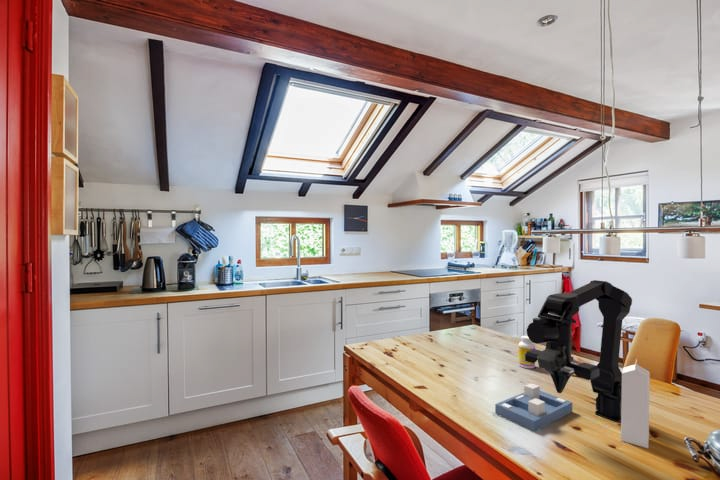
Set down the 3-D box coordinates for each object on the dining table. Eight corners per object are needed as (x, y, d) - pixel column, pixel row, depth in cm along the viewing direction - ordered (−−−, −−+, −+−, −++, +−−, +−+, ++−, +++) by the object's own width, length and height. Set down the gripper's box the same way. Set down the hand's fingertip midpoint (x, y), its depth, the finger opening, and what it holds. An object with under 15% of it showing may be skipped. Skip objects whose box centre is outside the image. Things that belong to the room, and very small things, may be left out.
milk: (648, 439, 102) (650, 361, 102) (648, 449, 97) (650, 366, 97) (622, 431, 106) (623, 356, 106) (620, 440, 101) (622, 361, 101)
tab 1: (539, 400, 123) (539, 386, 123) (532, 403, 121) (533, 388, 121) (531, 397, 125) (531, 383, 125) (524, 400, 123) (524, 385, 123)
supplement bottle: (533, 370, 154) (533, 340, 154) (516, 366, 158) (516, 337, 158) (536, 365, 160) (536, 336, 160) (520, 362, 164) (520, 334, 164)
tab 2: (544, 418, 111) (545, 401, 111) (537, 421, 109) (537, 405, 109) (535, 414, 114) (535, 398, 114) (528, 417, 111) (528, 401, 111)
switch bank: (572, 411, 118) (572, 401, 118) (534, 431, 106) (534, 420, 106) (534, 396, 129) (534, 387, 129) (495, 413, 116) (495, 403, 116)
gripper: (514, 336, 109) (513, 388, 109) (580, 352, 93) (579, 413, 93) (535, 330, 115) (534, 379, 115) (600, 345, 99) (600, 402, 99)
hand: (559, 392), depth 106 cm, fingers closed
